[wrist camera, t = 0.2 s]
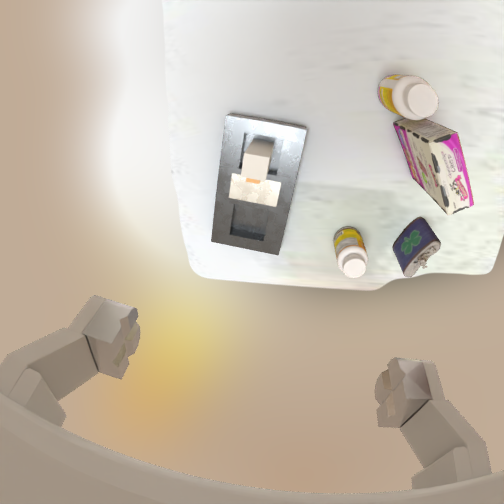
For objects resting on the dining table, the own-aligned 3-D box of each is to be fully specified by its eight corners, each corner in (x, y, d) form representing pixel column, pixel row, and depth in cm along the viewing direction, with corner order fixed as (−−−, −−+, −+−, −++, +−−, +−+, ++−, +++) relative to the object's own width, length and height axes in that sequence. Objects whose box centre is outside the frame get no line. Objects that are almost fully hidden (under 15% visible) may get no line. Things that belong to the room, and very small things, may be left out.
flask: (397, 253, 59) (411, 286, 50) (388, 246, 59) (401, 278, 50) (427, 221, 55) (447, 250, 46) (418, 213, 54) (437, 241, 45)
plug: (253, 138, 51) (244, 153, 43) (274, 142, 51) (269, 157, 43) (249, 162, 53) (239, 181, 45) (270, 166, 53) (264, 186, 45)
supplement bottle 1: (360, 250, 60) (369, 281, 52) (333, 251, 61) (337, 283, 53) (361, 225, 57) (372, 254, 49) (333, 226, 58) (338, 255, 50)
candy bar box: (434, 169, 49) (475, 206, 35) (412, 178, 51) (447, 218, 37) (416, 112, 44) (459, 131, 31) (391, 121, 46) (427, 143, 32)
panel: (229, 113, 50) (226, 115, 47) (306, 127, 49) (306, 130, 47) (214, 233, 63) (211, 241, 60) (279, 247, 62) (278, 255, 60)
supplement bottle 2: (398, 119, 46) (426, 134, 35) (369, 95, 44) (390, 102, 34) (420, 92, 42) (453, 100, 31) (391, 66, 41) (418, 66, 30)
